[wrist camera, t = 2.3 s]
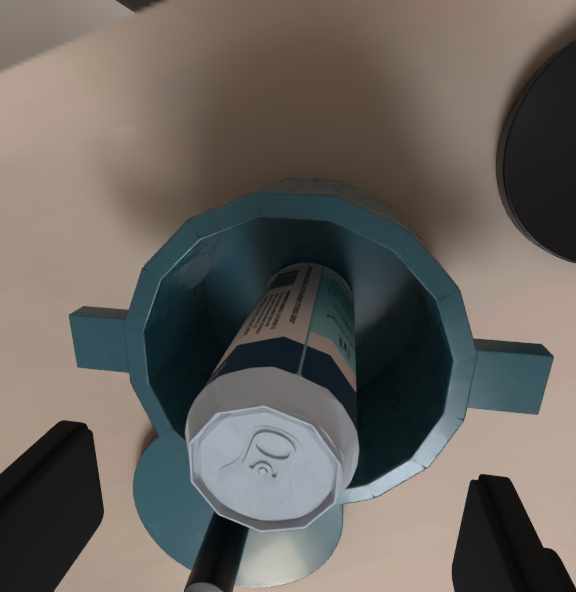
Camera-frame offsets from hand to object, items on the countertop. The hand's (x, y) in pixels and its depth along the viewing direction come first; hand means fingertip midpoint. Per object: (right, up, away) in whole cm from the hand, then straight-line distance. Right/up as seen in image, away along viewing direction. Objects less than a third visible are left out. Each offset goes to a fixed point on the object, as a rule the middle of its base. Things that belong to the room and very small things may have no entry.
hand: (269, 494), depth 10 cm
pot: (+2, +5, +12) cm, 13 cm away
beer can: (+2, +4, +12) cm, 13 cm away
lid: (-3, -9, +17) cm, 19 cm away
